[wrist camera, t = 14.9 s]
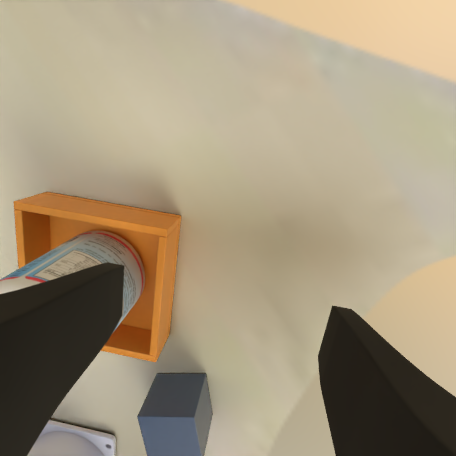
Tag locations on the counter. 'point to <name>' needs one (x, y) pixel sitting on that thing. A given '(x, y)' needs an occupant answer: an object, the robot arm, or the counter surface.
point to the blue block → (176, 415)
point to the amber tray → (127, 229)
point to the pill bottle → (83, 264)
